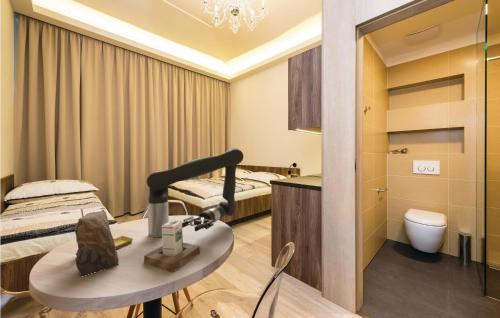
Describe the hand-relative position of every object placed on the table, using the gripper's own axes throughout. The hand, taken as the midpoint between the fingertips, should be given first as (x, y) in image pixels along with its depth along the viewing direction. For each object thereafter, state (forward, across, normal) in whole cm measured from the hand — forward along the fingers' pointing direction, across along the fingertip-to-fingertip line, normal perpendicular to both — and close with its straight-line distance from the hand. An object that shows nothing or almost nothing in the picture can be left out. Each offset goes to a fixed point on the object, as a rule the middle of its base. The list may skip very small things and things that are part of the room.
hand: (187, 227), depth 91 cm
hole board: (+9, 0, +10) cm, 13 cm away
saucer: (+10, -33, +10) cm, 36 cm away
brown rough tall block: (+25, -21, +10) cm, 34 cm away
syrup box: (+9, 0, +10) cm, 13 cm away
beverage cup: (+22, -36, +10) cm, 43 cm away
